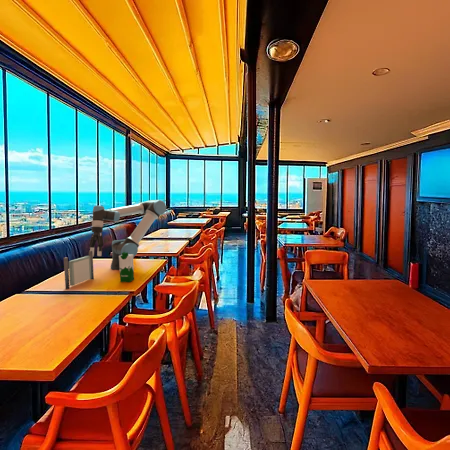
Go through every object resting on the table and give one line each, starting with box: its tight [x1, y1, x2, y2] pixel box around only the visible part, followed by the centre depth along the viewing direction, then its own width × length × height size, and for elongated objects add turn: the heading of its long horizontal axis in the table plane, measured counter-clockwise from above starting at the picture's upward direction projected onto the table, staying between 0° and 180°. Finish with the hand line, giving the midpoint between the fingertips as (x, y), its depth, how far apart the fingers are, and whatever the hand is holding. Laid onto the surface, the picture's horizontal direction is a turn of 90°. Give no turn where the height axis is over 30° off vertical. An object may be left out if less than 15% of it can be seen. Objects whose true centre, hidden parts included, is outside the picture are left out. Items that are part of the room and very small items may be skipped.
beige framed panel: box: [68, 255, 92, 287], centre depth 227 cm, size 19×2×16 cm, turn 166°
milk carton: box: [119, 252, 135, 283], centre depth 232 cm, size 9×9×20 cm
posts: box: [63, 250, 95, 290], centre depth 226 cm, size 27×2×20 cm, turn 166°
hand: (95, 256), depth 242 cm, fingers open, 13 cm apart
